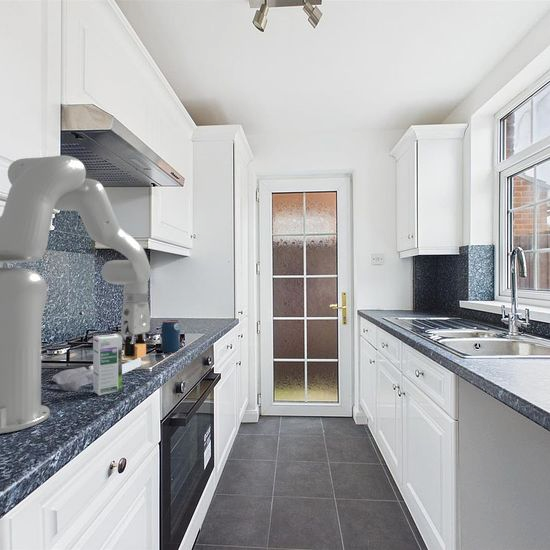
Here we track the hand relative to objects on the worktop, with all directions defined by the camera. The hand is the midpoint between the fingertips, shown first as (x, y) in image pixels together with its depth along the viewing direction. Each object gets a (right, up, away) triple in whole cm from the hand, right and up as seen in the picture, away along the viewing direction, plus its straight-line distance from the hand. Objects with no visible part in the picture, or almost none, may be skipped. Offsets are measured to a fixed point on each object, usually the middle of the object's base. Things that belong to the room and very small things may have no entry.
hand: (134, 353), depth 118 cm
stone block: (-8, -5, -20) cm, 22 cm away
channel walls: (-2, -4, -9) cm, 10 cm away
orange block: (0, -1, 0) cm, 1 cm away
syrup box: (+3, -4, -25) cm, 26 cm away
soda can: (+6, -4, +21) cm, 22 cm away
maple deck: (-1, -4, -7) cm, 8 cm away
